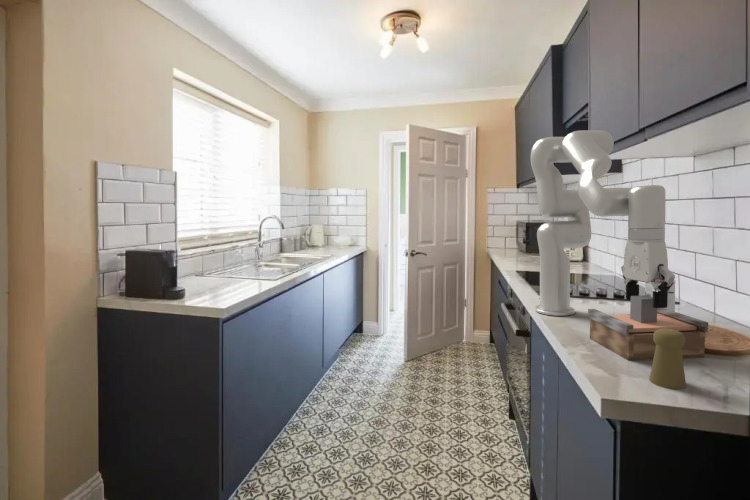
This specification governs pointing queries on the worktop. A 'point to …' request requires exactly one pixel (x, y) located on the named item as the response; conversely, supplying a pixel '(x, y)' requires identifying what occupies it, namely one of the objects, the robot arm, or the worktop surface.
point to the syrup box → (671, 294)
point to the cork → (668, 359)
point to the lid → (650, 317)
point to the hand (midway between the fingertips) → (645, 303)
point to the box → (643, 336)
